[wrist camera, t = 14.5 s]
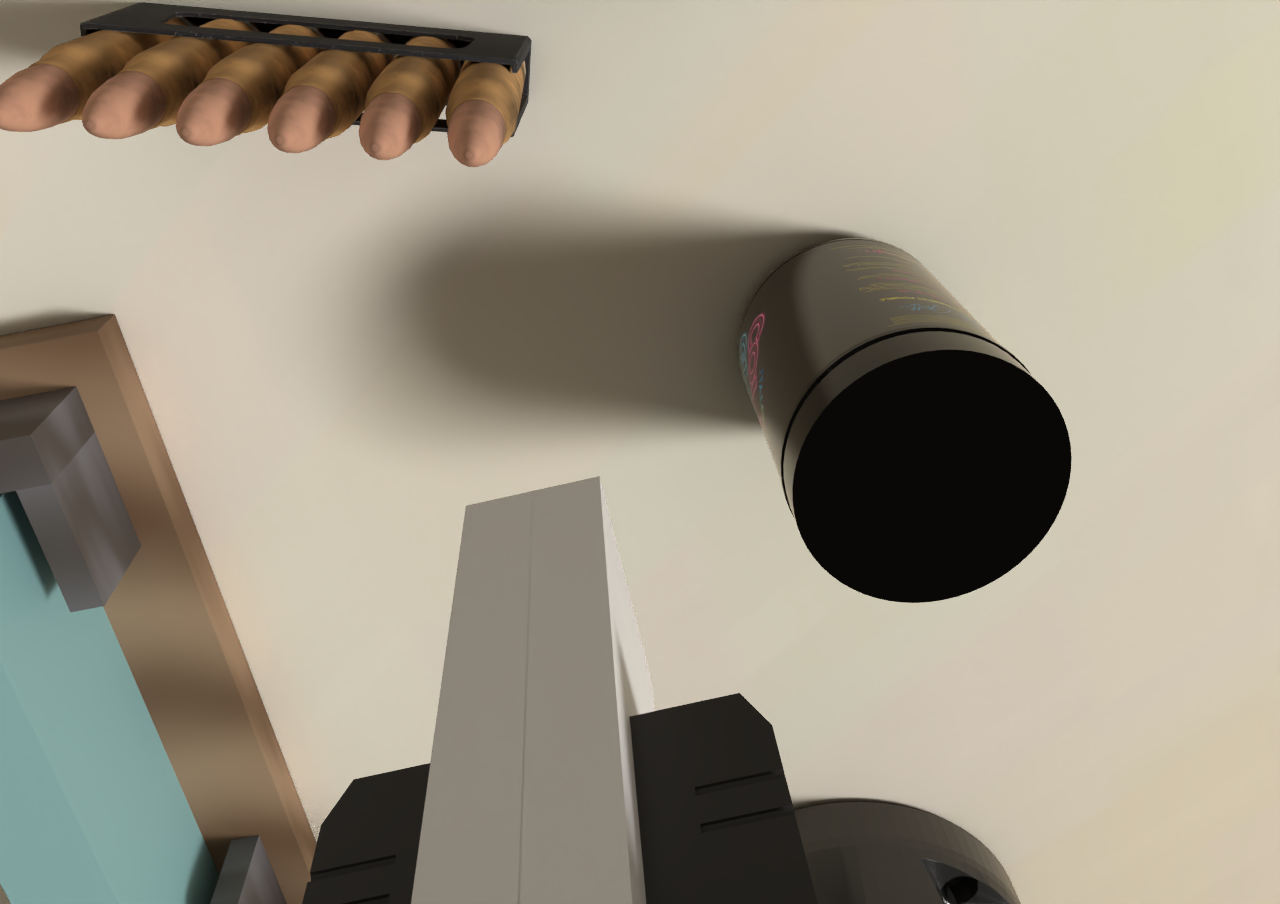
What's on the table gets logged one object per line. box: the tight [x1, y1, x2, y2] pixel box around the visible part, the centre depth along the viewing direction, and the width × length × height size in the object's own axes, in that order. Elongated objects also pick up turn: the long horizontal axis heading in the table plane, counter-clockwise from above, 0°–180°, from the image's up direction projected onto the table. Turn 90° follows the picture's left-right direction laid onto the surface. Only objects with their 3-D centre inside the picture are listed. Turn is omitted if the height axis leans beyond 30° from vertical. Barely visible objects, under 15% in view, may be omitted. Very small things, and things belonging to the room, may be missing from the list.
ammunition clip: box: [0, 3, 531, 167], centre depth 29 cm, size 11×2×12 cm, turn 85°
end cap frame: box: [0, 314, 317, 904], centre depth 40 cm, size 26×9×5 cm, turn 10°
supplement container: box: [738, 238, 1071, 603], centre depth 34 cm, size 7×7×10 cm
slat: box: [0, 491, 219, 904], centre depth 38 cm, size 18×3×6 cm, turn 10°
